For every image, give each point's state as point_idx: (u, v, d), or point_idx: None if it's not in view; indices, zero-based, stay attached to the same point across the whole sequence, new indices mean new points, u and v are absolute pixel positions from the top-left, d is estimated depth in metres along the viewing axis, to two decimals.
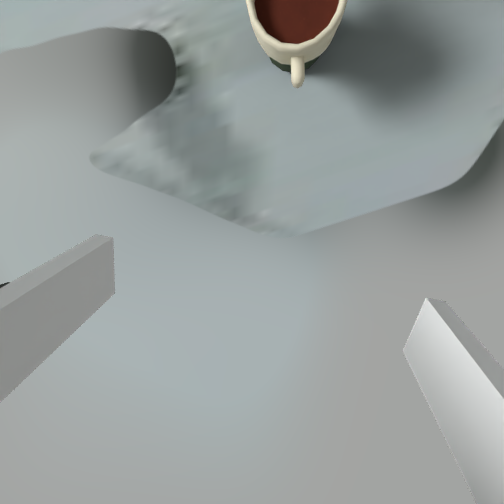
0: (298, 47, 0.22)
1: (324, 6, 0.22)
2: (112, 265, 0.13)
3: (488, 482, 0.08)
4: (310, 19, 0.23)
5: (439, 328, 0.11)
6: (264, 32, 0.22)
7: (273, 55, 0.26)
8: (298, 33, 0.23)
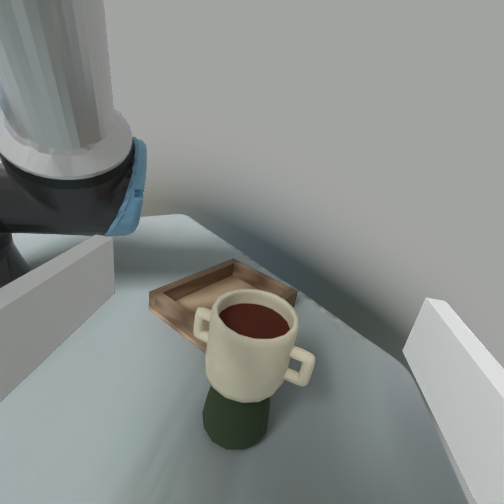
0: (295, 327, 0.23)
1: (270, 316, 0.26)
2: (112, 265, 0.13)
3: (488, 482, 0.08)
4: (273, 325, 0.25)
5: (438, 328, 0.11)
6: (269, 339, 0.22)
7: (273, 377, 0.23)
8: (278, 334, 0.24)
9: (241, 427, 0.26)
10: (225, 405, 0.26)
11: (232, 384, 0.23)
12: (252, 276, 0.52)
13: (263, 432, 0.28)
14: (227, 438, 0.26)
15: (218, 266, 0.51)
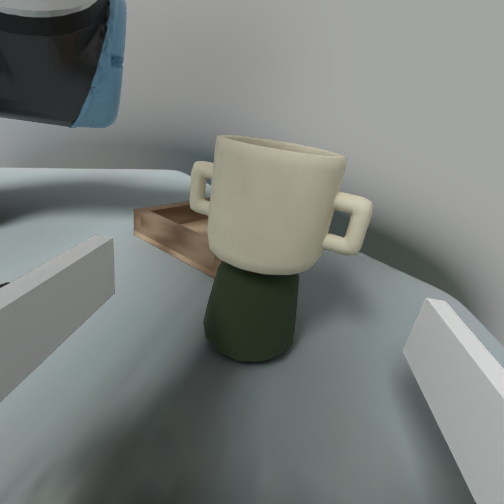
0: (342, 157, 0.16)
1: None
2: (112, 265, 0.13)
3: (488, 482, 0.08)
4: None
5: (438, 328, 0.11)
6: (309, 154, 0.14)
7: (310, 231, 0.15)
8: None
9: (260, 325, 0.18)
10: (237, 292, 0.18)
11: (250, 240, 0.15)
12: None
13: (289, 342, 0.20)
14: (240, 343, 0.18)
15: None
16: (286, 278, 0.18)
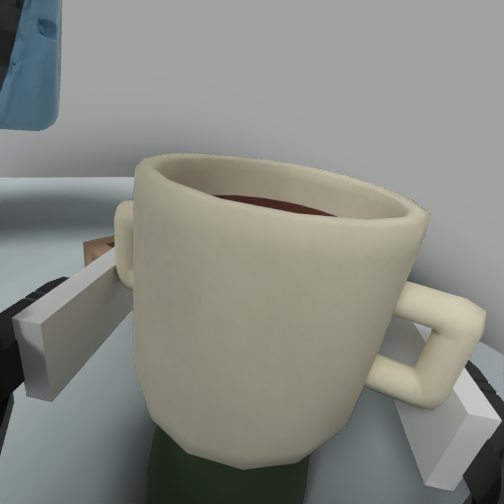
0: None
1: None
2: None
3: (423, 437, 0.09)
4: None
5: None
6: (355, 220, 0.05)
7: (348, 382, 0.07)
8: None
9: None
10: (193, 466, 0.09)
11: (208, 409, 0.06)
12: None
13: None
14: None
15: None
16: None
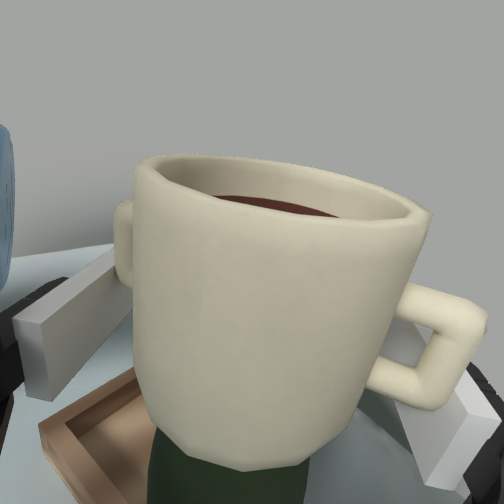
0: None
1: None
2: None
3: (424, 437, 0.09)
4: None
5: None
6: (357, 221, 0.05)
7: (349, 383, 0.07)
8: None
9: None
10: (193, 467, 0.09)
11: (208, 411, 0.06)
12: None
13: None
14: None
15: None
16: None
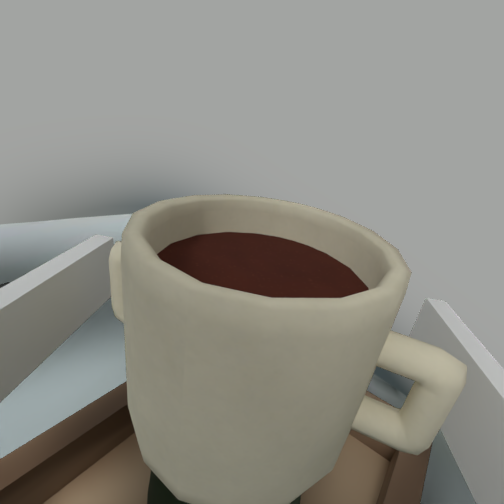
0: (400, 269, 0.07)
1: (304, 256, 0.10)
2: None
3: (488, 482, 0.08)
4: (317, 274, 0.09)
5: (438, 328, 0.11)
6: (329, 299, 0.05)
7: (330, 436, 0.07)
8: (337, 297, 0.08)
9: None
10: (187, 502, 0.09)
11: (195, 464, 0.07)
12: None
13: None
14: None
15: None
16: None
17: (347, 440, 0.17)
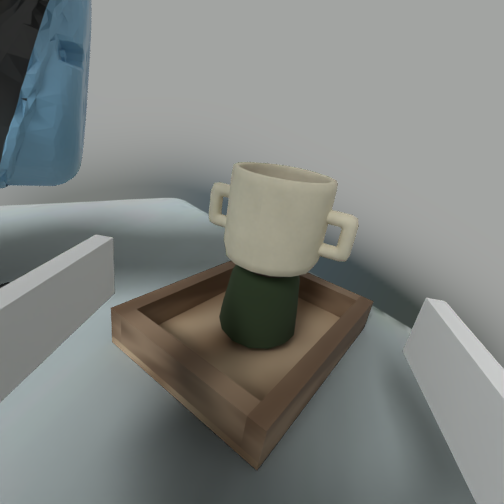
0: (334, 183, 0.20)
1: None
2: (112, 265, 0.13)
3: (488, 482, 0.08)
4: None
5: (439, 328, 0.11)
6: (306, 183, 0.18)
7: (308, 242, 0.19)
8: None
9: (267, 318, 0.22)
10: (248, 290, 0.22)
11: (260, 249, 0.19)
12: None
13: (291, 333, 0.24)
14: (250, 333, 0.22)
15: None
16: (289, 279, 0.22)
17: (325, 313, 0.30)
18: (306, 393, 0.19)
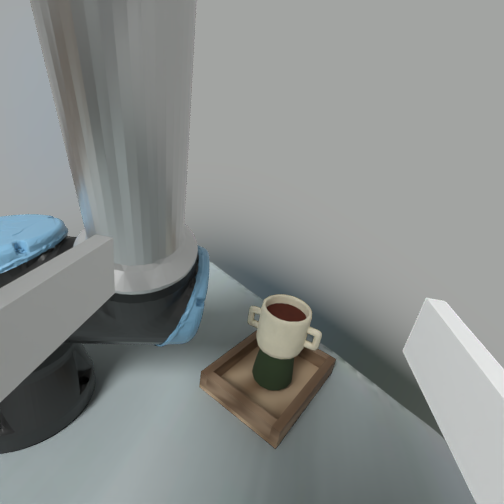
0: (310, 316, 0.42)
1: (294, 310, 0.45)
2: (112, 265, 0.13)
3: (488, 482, 0.08)
4: (297, 315, 0.44)
5: (438, 328, 0.11)
6: (297, 321, 0.40)
7: (298, 344, 0.41)
8: (300, 320, 0.43)
9: (278, 376, 0.44)
10: (269, 363, 0.44)
11: (275, 348, 0.41)
12: None
13: (290, 381, 0.46)
14: (269, 383, 0.44)
15: None
16: None
17: (309, 364, 0.52)
18: (297, 414, 0.41)
